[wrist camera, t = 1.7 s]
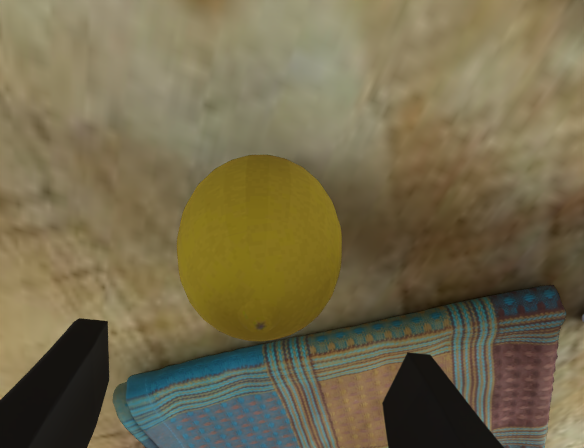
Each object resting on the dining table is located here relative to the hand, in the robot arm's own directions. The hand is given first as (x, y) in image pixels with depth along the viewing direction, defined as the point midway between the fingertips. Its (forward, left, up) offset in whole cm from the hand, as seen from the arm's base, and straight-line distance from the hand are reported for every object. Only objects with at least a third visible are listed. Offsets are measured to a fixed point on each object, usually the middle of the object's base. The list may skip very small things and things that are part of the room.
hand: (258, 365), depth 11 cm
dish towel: (-8, +15, -10) cm, 19 cm away
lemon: (0, 0, -10) cm, 10 cm away
